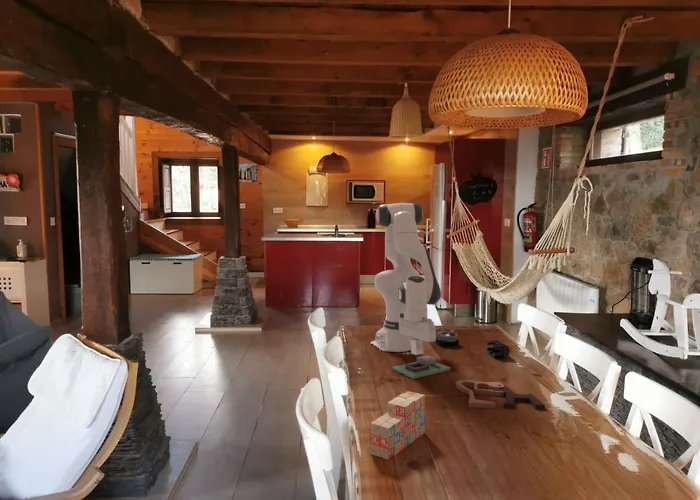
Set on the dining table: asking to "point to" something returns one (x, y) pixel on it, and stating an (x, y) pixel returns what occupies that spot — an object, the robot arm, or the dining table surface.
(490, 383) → the wood carving
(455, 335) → the cpu cooler
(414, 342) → the plug
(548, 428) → the dining table surface
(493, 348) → the end cap
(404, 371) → the circuit board
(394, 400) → the stack of blocks
